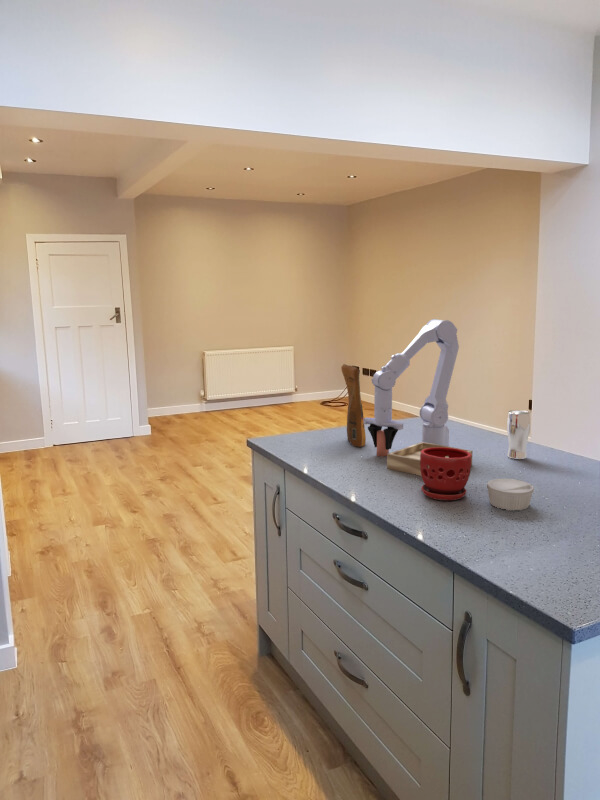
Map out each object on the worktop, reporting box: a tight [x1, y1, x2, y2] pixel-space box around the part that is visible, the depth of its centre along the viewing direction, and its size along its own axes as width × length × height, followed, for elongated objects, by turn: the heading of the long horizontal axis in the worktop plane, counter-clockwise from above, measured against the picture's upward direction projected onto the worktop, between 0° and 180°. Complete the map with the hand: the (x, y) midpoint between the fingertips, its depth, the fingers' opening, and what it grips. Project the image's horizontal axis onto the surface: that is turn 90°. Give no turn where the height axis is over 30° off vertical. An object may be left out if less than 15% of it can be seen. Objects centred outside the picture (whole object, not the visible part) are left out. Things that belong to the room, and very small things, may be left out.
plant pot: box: [420, 447, 473, 501], centre depth 162 cm, size 13×13×12 cm
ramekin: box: [486, 478, 535, 511], centre depth 155 cm, size 11×11×5 cm
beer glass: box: [506, 409, 531, 459], centre depth 197 cm, size 7×7×15 cm
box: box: [386, 441, 473, 477], centre depth 189 cm, size 20×18×4 cm
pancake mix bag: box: [341, 363, 367, 448], centre depth 219 cm, size 7×19×28 cm, turn 6°
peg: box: [376, 429, 390, 458], centre depth 203 cm, size 4×4×8 cm
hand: (382, 447), depth 203 cm, fingers closed on peg, 4 cm apart
